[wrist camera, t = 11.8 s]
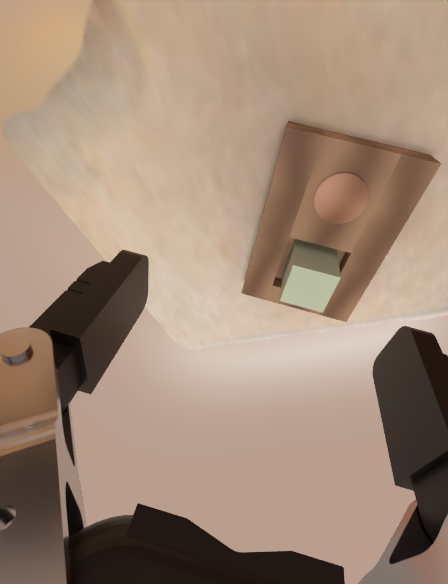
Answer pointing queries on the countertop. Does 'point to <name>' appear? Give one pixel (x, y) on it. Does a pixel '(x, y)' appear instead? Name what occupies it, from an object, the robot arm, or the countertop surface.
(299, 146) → the puzzle board
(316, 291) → the green block
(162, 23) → the countertop surface
